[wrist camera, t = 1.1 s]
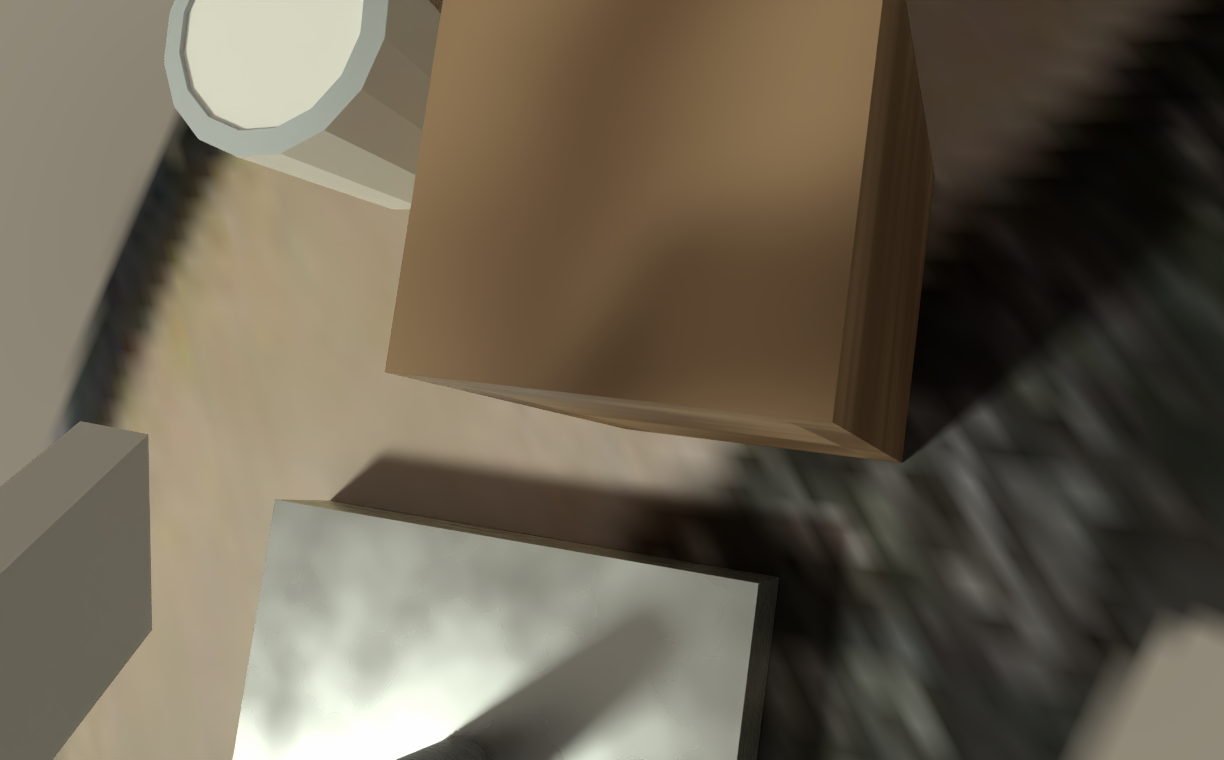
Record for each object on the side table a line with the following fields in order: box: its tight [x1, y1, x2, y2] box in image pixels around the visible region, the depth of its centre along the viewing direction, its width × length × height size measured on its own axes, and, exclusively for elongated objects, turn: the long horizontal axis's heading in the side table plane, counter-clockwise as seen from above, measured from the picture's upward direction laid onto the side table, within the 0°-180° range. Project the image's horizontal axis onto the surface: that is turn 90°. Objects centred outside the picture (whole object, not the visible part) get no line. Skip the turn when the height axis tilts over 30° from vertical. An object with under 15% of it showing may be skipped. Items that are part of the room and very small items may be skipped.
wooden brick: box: [385, 0, 934, 463], centre depth 21 cm, size 7×7×12 cm
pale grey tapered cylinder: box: [164, 0, 441, 210], centre depth 28 cm, size 7×7×7 cm
